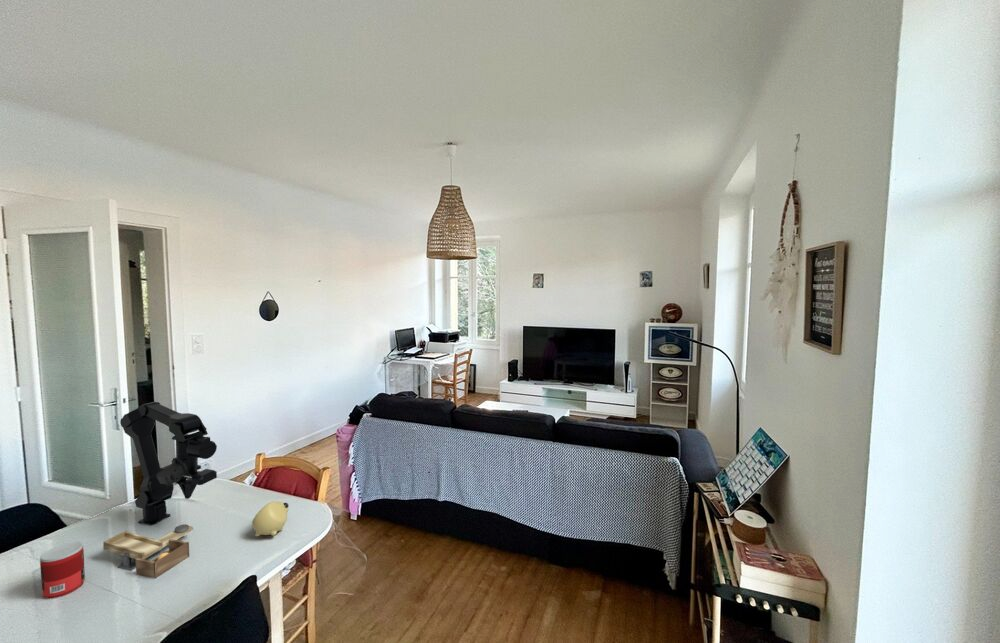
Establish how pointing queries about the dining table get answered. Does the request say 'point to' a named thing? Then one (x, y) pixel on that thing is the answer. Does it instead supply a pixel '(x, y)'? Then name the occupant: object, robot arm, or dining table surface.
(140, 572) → the tray
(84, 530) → the dining table surface
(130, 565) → the fulcrum
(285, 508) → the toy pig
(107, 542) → the lever
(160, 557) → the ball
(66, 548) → the canned food
